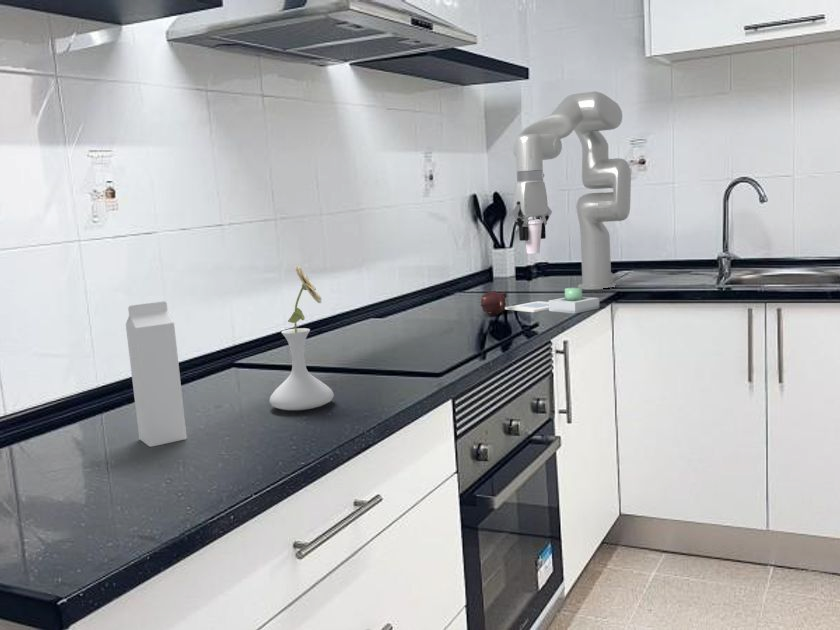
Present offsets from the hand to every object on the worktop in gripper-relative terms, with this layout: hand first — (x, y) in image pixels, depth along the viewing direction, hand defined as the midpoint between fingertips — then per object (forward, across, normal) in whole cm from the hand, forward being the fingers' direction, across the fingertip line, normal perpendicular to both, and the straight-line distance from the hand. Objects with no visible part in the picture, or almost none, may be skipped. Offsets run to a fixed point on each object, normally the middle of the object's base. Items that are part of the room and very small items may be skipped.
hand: (532, 239), depth 248 cm
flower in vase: (+22, +105, +48) cm, 117 cm away
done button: (+18, -2, +14) cm, 23 cm away
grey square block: (+20, -2, +14) cm, 25 cm away
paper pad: (+20, 0, +1) cm, 20 cm away
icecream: (+21, +16, -1) cm, 26 cm away
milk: (+22, +131, +48) cm, 141 cm away
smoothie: (+4, 0, 0) cm, 4 cm away
